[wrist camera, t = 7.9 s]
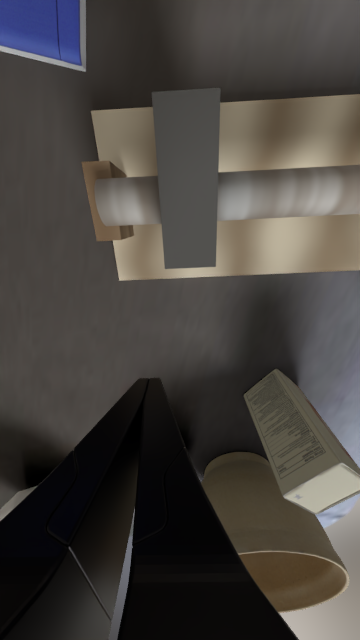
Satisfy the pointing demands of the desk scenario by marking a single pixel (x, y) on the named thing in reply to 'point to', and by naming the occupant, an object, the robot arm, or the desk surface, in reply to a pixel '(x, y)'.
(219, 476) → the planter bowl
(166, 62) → the desk surface
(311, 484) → the skincare box
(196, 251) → the collar
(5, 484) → the desk surface
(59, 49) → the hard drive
